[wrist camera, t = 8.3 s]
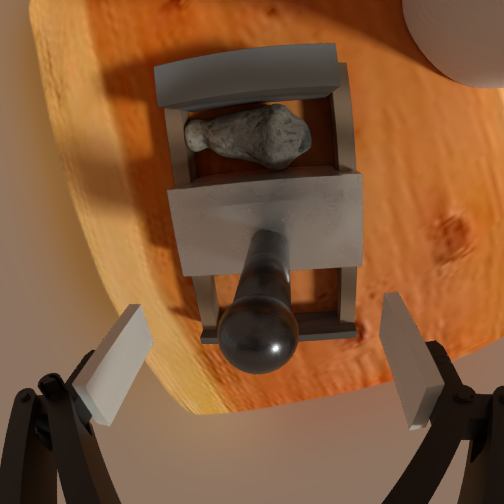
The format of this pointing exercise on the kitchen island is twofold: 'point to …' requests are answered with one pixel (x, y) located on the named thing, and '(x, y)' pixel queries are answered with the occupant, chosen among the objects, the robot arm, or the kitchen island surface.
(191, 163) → the grey rectangular frame
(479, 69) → the vase
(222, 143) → the stone
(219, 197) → the ram
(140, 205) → the kitchen island surface
